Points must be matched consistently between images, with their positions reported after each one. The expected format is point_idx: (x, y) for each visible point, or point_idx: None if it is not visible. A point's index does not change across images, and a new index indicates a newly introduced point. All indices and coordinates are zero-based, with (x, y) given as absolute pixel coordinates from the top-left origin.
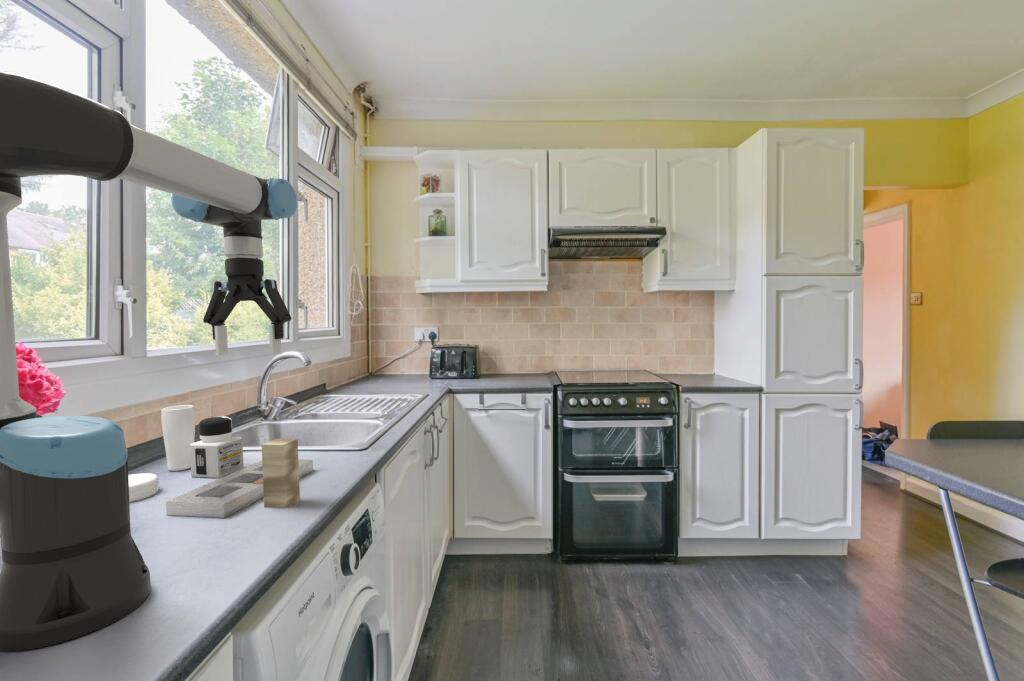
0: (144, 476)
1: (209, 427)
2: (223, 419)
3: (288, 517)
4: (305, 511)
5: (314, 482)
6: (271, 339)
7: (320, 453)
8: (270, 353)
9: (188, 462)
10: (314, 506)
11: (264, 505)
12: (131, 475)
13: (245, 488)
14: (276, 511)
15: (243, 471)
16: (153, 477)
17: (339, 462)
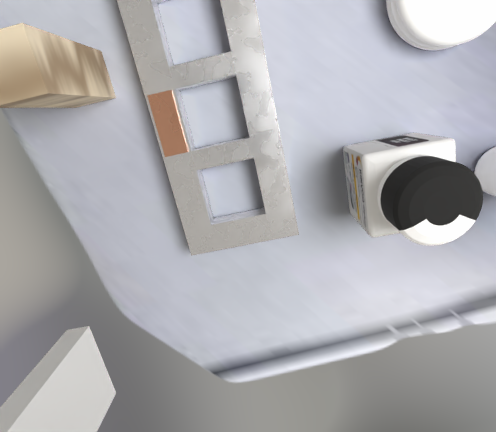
0: (448, 19)
1: (414, 165)
2: (405, 207)
3: None
4: None
5: (132, 191)
6: (3, 418)
7: (274, 336)
8: (84, 331)
9: (480, 172)
10: None
11: (99, 51)
12: (490, 12)
13: (155, 59)
14: None
15: (265, 145)
16: (413, 18)
17: (187, 300)
